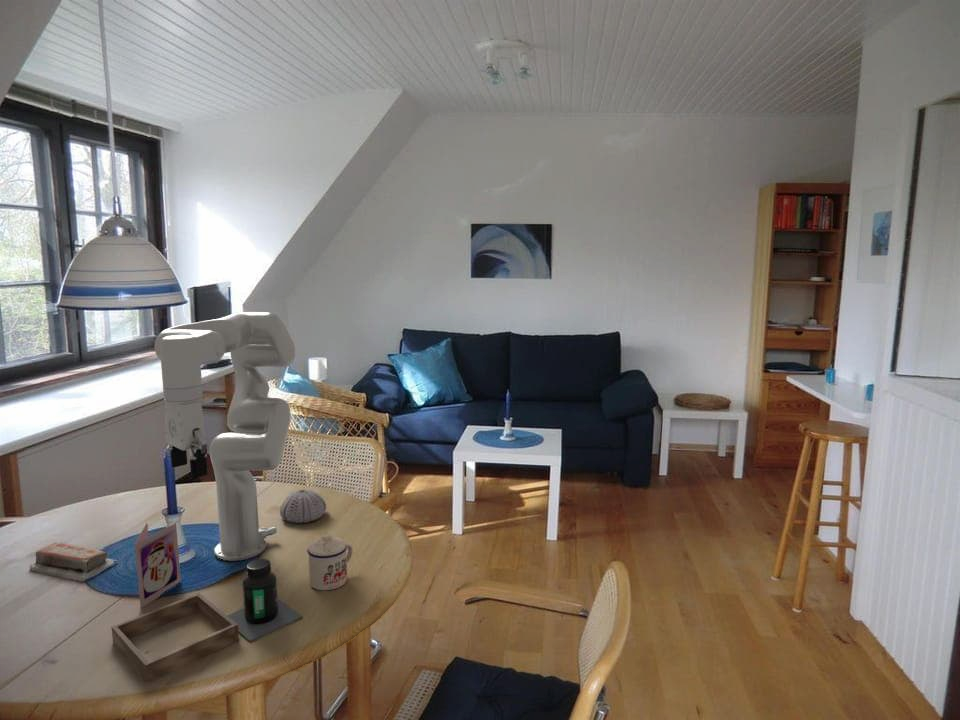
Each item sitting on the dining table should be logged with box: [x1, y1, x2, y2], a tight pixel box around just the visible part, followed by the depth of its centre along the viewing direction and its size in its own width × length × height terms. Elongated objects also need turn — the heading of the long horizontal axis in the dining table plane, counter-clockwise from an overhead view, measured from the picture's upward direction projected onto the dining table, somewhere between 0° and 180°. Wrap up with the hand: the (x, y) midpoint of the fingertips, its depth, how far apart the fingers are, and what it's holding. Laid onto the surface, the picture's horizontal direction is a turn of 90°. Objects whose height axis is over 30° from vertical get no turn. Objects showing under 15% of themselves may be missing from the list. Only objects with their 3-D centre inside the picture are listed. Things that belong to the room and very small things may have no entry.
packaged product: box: [29, 542, 119, 582], centre depth 160 cm, size 18×5×10 cm
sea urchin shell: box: [279, 488, 327, 524], centre depth 190 cm, size 13×14×8 cm
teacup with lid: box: [306, 533, 354, 591], centre depth 154 cm, size 12×9×12 cm
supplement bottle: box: [242, 558, 279, 624], centre depth 138 cm, size 7×7×12 cm
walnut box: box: [111, 592, 240, 684], centre depth 130 cm, size 18×18×4 cm
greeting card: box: [134, 522, 182, 608], centre depth 147 cm, size 11×7×15 cm, turn 160°
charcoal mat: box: [226, 598, 304, 643], centre depth 138 cm, size 12×12×1 cm
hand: (189, 470), depth 140 cm, fingers open, 9 cm apart
